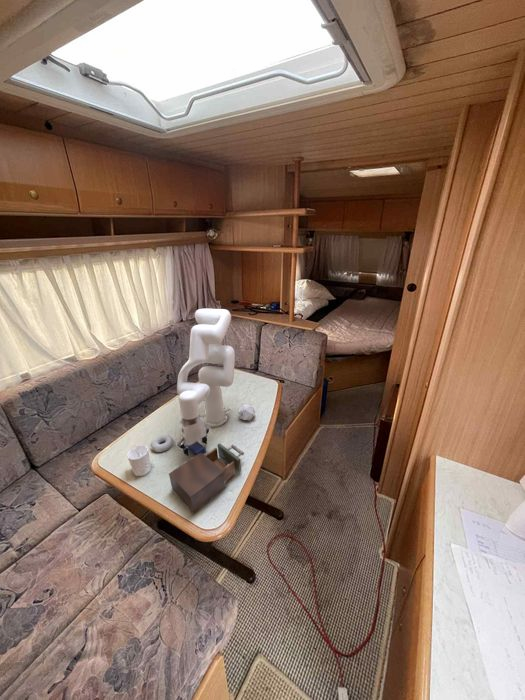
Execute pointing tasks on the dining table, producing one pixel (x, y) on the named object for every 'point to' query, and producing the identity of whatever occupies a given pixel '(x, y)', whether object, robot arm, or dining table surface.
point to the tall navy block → (196, 448)
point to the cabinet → (197, 481)
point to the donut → (164, 446)
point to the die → (246, 412)
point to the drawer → (226, 460)
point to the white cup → (139, 460)
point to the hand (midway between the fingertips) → (195, 448)
